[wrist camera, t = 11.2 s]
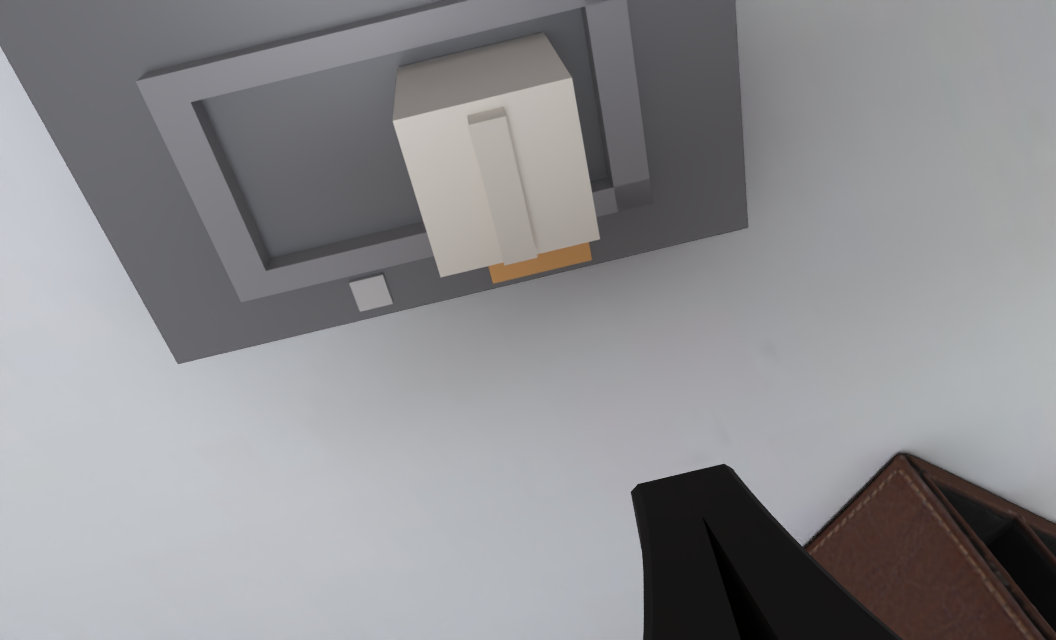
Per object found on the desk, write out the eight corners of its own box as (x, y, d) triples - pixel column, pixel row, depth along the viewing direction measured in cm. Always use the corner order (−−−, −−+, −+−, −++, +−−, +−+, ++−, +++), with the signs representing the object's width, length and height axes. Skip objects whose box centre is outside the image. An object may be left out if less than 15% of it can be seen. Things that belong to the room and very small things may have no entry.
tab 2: (543, 32, 16) (577, 85, 12) (569, 170, 17) (605, 251, 14) (397, 66, 16) (391, 130, 12) (437, 201, 17) (441, 290, 14)
